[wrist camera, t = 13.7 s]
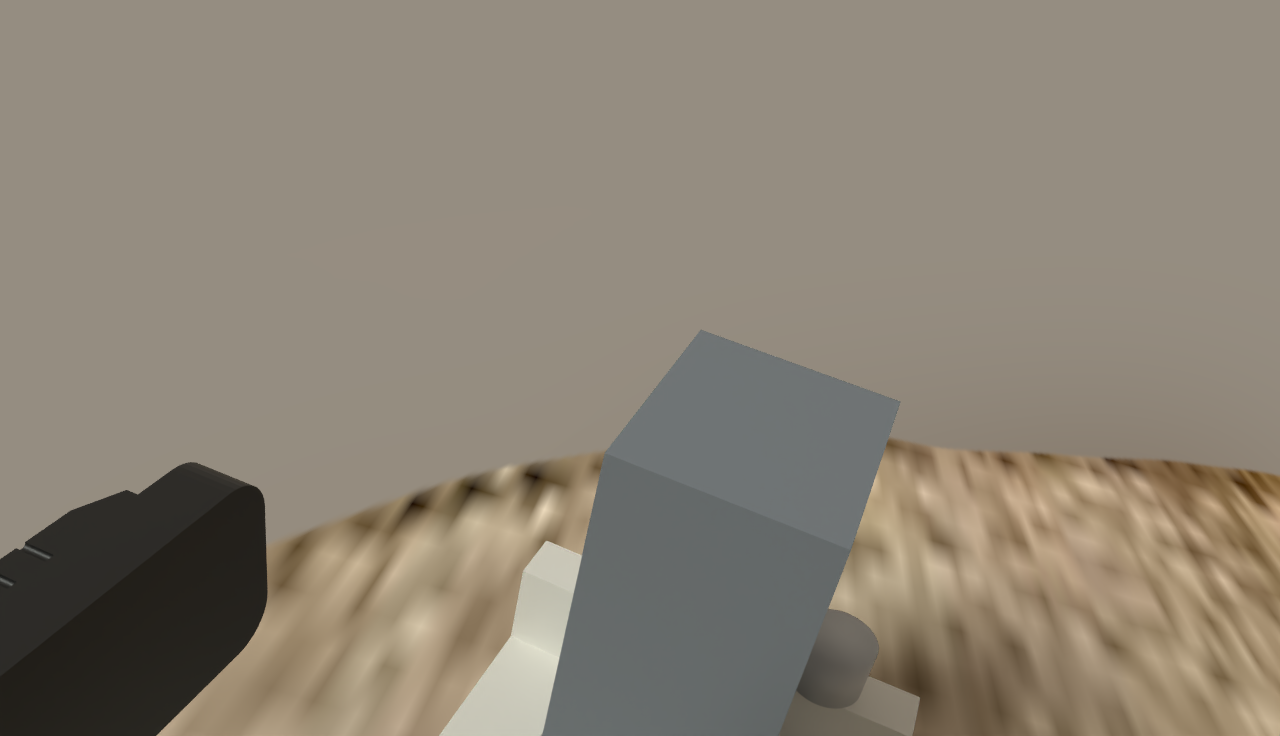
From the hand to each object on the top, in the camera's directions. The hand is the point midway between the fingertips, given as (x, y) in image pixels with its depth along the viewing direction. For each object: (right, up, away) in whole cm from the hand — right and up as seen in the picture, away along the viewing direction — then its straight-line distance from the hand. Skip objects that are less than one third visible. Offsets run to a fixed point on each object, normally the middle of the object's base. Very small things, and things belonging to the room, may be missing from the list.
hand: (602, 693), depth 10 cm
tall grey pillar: (0, -9, +17) cm, 19 cm away
